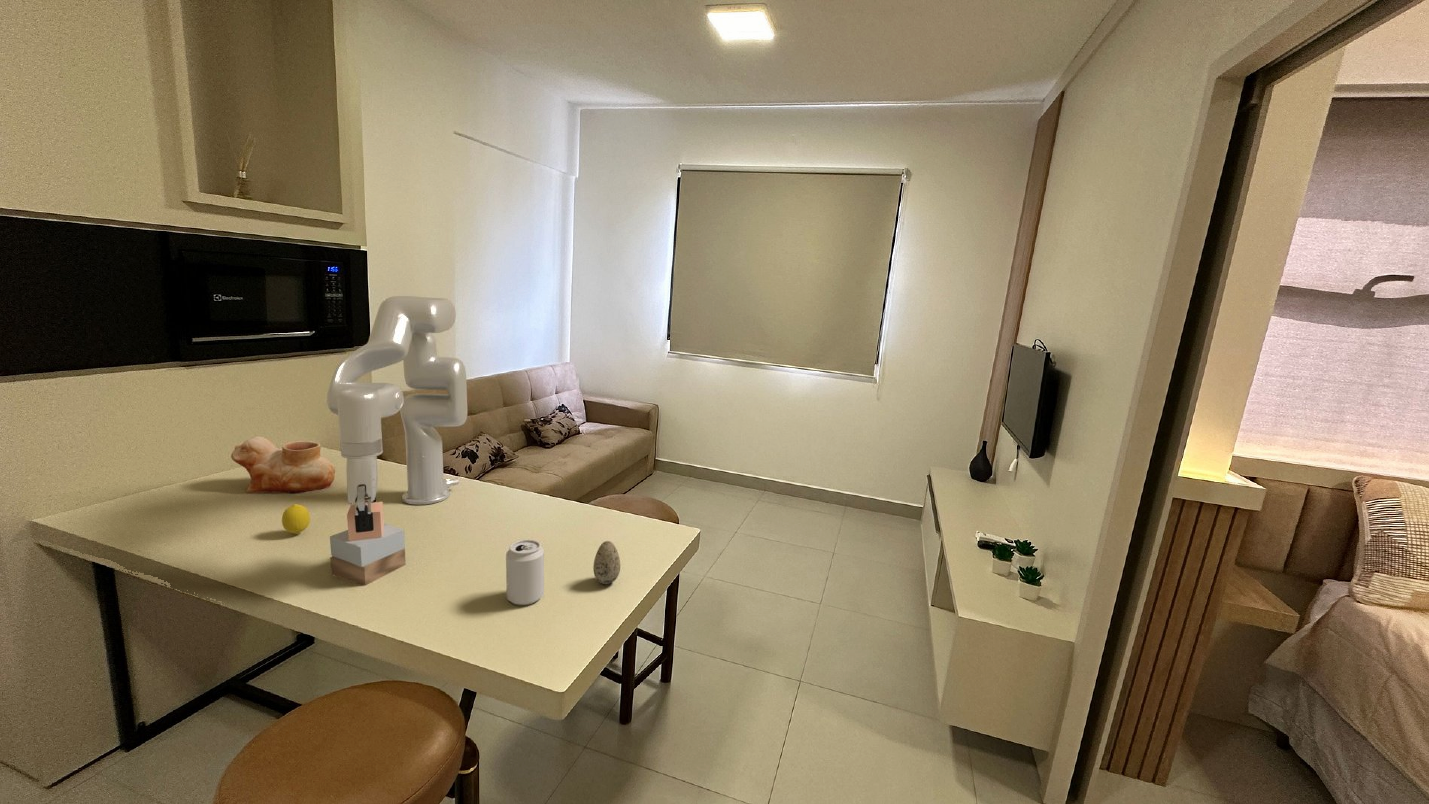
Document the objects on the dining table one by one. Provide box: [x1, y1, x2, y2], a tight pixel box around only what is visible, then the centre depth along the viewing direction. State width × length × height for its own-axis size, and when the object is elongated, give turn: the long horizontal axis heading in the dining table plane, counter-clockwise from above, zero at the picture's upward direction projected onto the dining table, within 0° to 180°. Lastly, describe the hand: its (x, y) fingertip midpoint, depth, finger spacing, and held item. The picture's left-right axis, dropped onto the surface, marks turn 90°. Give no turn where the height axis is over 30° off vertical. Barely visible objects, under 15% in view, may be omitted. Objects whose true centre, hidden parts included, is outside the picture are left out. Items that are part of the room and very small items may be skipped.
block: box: [346, 501, 385, 541], centre depth 120 cm, size 6×6×6 cm
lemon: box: [281, 503, 311, 536], centre depth 136 cm, size 6×6×8 cm
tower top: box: [329, 523, 406, 567], centre depth 121 cm, size 10×10×4 cm
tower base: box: [329, 548, 407, 586], centre depth 122 cm, size 10×10×4 cm
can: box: [505, 538, 545, 606], centre depth 114 cm, size 8×8×12 cm
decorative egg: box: [592, 540, 621, 585], centre depth 123 cm, size 6×6×10 cm
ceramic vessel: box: [230, 435, 336, 494], centre depth 164 cm, size 14×26×15 cm, turn 97°
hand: (366, 522), depth 120 cm, fingers open, 9 cm apart
